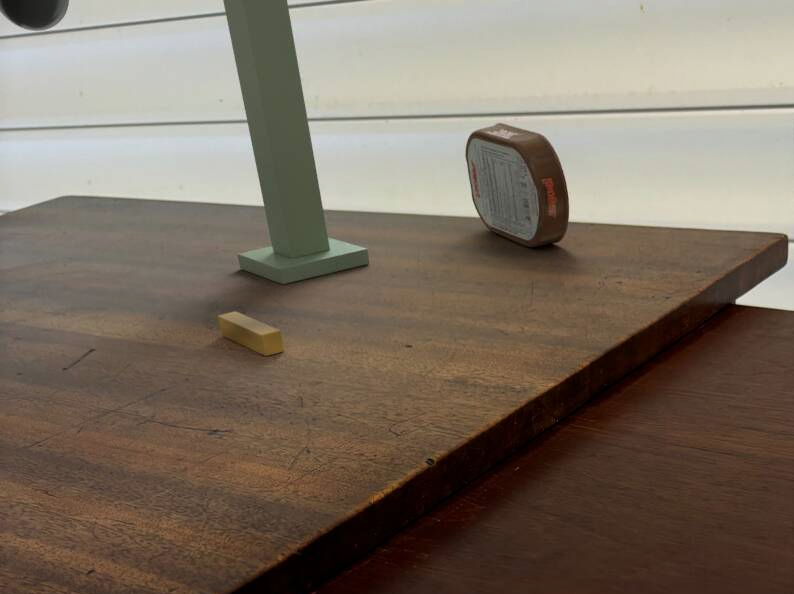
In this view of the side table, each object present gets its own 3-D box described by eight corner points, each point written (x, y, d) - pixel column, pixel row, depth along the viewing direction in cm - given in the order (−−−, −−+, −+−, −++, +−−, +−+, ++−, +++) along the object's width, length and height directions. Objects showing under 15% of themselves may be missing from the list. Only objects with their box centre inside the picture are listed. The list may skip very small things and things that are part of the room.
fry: (222, 335, 82) (217, 315, 81) (240, 331, 83) (235, 310, 82) (265, 356, 77) (261, 335, 77) (284, 351, 78) (280, 330, 77)
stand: (222, 262, 100) (118, -201, 82) (305, 244, 104) (223, -203, 86) (302, 292, 90) (204, -228, 72) (391, 270, 94) (319, -229, 76)
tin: (575, 250, 95) (568, 135, 90) (540, 257, 94) (532, 141, 89) (498, 221, 106) (489, 117, 102) (467, 226, 105) (456, 122, 100)
